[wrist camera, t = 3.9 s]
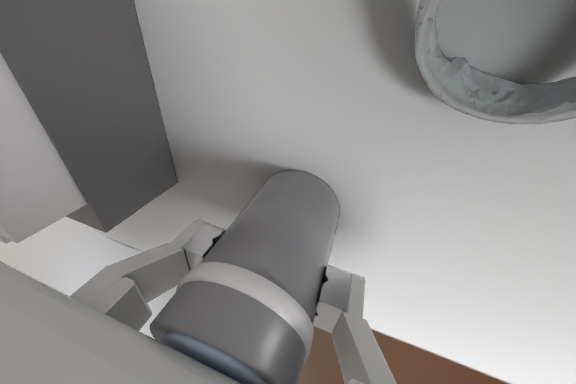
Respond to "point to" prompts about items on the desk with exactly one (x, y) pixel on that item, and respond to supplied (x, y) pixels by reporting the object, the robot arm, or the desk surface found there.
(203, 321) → the lens
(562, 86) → the ceramic mug
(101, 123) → the camera body
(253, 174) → the desk surface
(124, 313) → the robot arm
